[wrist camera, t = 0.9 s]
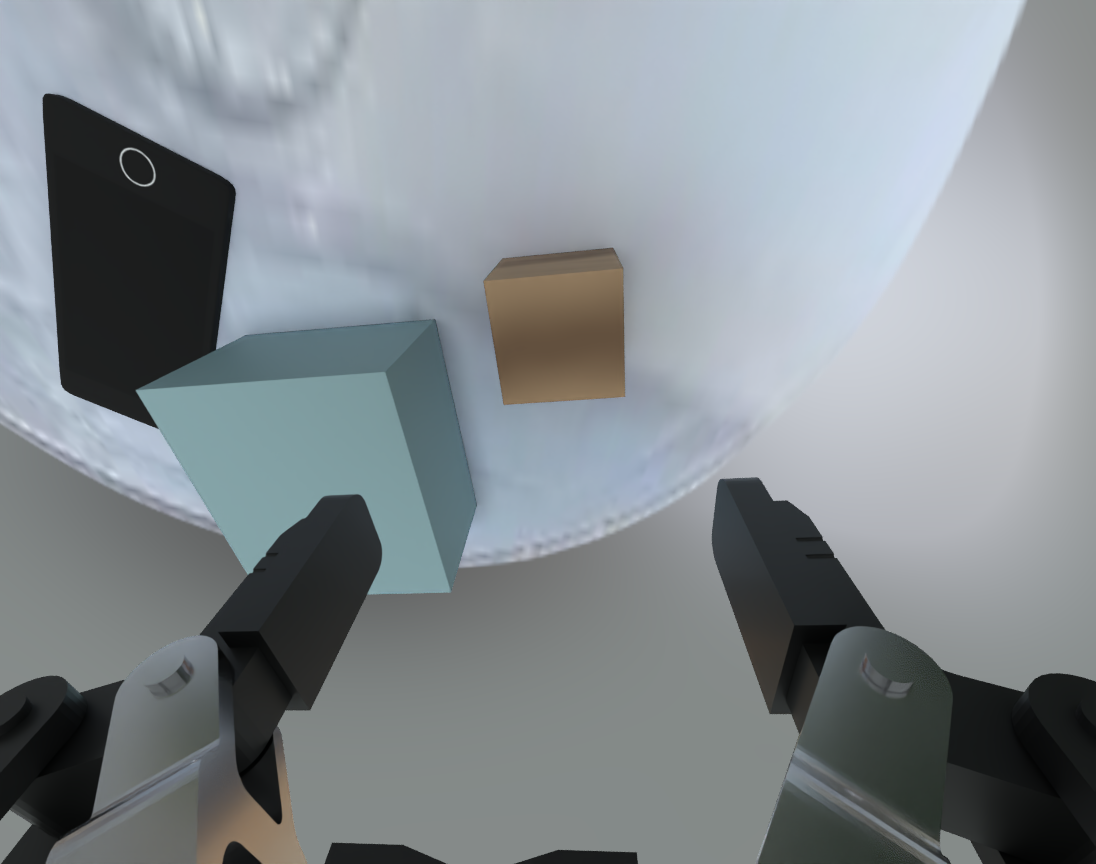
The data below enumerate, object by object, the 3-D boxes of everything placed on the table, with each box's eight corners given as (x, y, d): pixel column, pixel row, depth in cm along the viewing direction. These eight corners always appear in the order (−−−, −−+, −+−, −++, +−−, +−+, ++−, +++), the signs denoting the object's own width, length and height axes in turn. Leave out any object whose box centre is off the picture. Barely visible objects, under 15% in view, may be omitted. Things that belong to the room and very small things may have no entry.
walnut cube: (502, 258, 25) (483, 281, 19) (612, 247, 24) (623, 268, 19) (517, 361, 28) (503, 404, 22) (615, 353, 27) (625, 396, 22)
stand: (245, 335, 28) (135, 390, 21) (434, 319, 26) (385, 371, 20) (324, 511, 35) (261, 596, 28) (476, 505, 33) (450, 592, 26)
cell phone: (242, 184, 24) (230, 184, 23) (207, 438, 32) (198, 445, 31) (59, 90, 22) (39, 87, 21) (73, 384, 31) (60, 390, 30)
